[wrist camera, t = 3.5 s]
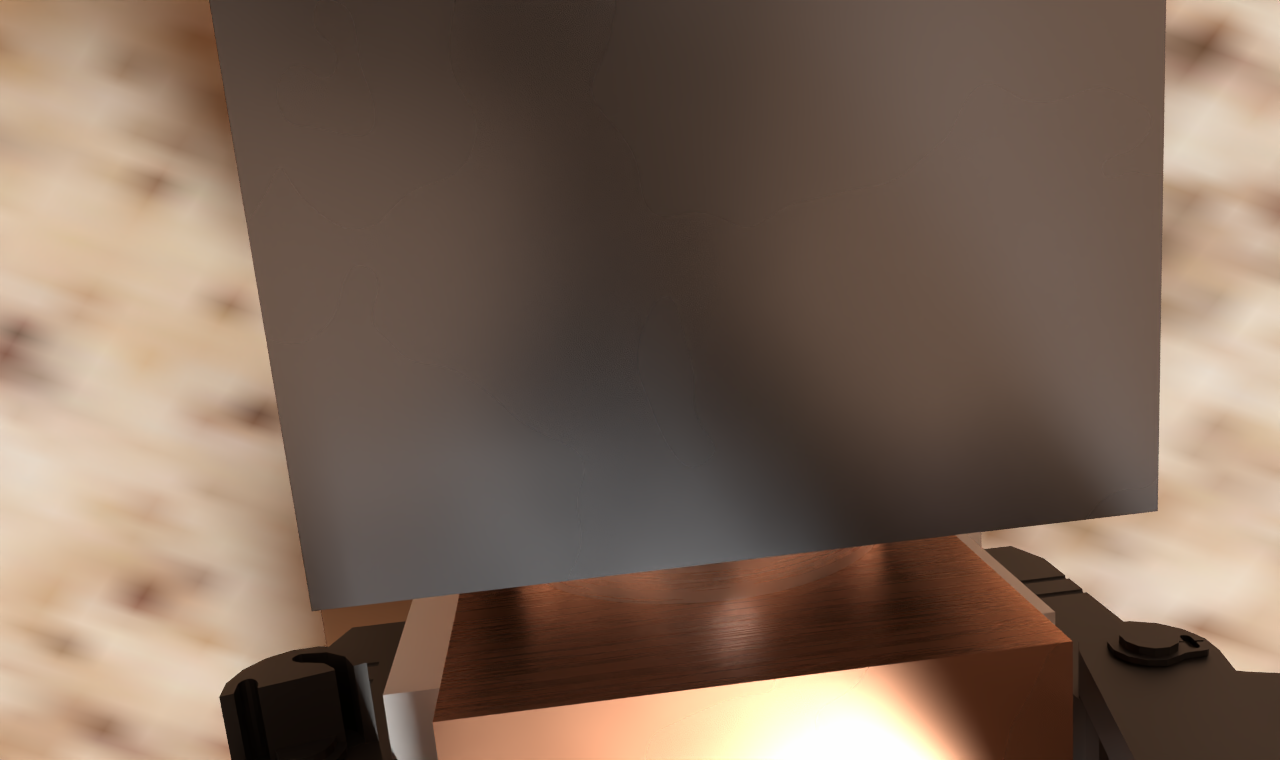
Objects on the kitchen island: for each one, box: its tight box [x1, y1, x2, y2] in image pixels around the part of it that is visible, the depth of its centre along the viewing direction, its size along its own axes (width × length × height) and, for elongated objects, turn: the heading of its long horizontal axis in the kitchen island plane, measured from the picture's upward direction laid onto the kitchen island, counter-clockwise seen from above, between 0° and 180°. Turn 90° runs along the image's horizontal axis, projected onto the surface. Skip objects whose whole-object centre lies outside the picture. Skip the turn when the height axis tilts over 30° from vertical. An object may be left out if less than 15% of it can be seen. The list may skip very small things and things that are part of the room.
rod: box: [433, 535, 1073, 760], centre depth 11 cm, size 17×5×7 cm, turn 5°
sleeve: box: [209, 0, 1166, 611], centre depth 12 cm, size 9×7×11 cm
